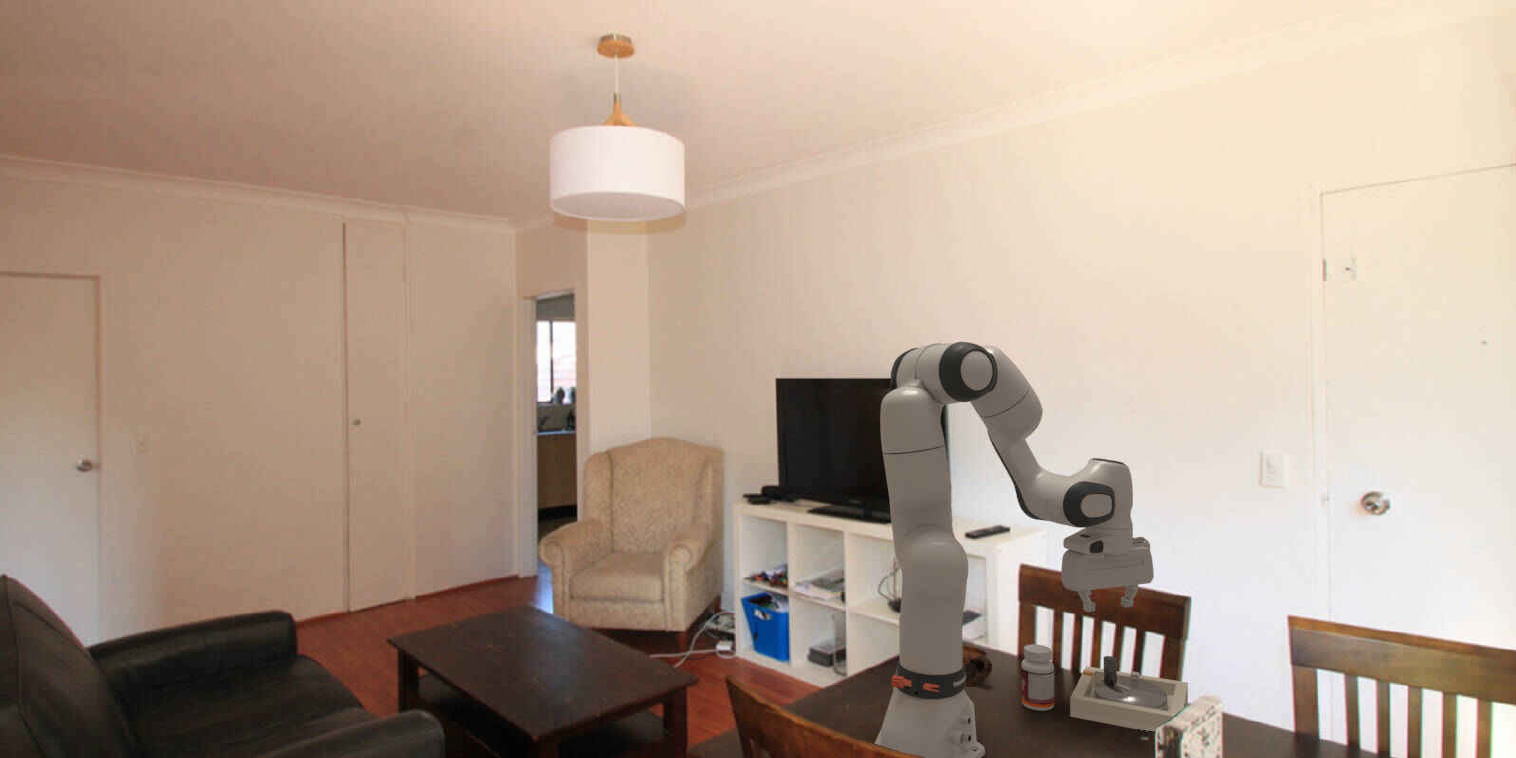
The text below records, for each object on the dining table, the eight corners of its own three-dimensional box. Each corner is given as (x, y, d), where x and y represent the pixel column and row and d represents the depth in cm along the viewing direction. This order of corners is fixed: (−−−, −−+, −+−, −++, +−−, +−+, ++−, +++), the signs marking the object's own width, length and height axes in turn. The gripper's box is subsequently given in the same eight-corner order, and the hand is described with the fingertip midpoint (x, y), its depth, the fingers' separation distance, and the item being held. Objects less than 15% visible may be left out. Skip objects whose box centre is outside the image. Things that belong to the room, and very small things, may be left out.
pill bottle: (1021, 697, 166) (1021, 642, 166) (1054, 701, 164) (1053, 644, 164) (1021, 709, 160) (1020, 652, 160) (1054, 713, 158) (1054, 655, 158)
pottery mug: (933, 681, 177) (939, 642, 181) (964, 692, 181) (969, 654, 185) (976, 683, 167) (980, 642, 171) (1007, 695, 171) (1011, 655, 175)
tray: (1182, 737, 147) (1181, 715, 147) (1070, 716, 157) (1070, 695, 157) (1187, 700, 164) (1187, 680, 163) (1086, 683, 173) (1086, 663, 173)
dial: (1182, 705, 158) (1181, 669, 158) (1138, 720, 151) (1138, 682, 151) (1122, 683, 169) (1122, 649, 169) (1080, 696, 163) (1079, 661, 163)
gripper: (1137, 533, 170) (1137, 599, 170) (1056, 540, 163) (1056, 609, 163) (1161, 539, 164) (1161, 608, 164) (1078, 546, 157) (1078, 618, 157)
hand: (1108, 608), depth 164 cm, fingers open, 8 cm apart
